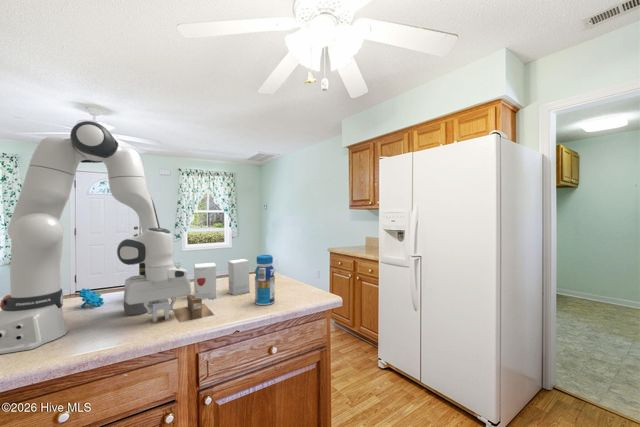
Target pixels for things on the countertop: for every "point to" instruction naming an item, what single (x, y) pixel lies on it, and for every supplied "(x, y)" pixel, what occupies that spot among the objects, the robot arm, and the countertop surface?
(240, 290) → the skincare box
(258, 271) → the beverage bottle
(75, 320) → the countertop surface
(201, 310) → the beige piece
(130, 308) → the smart speaker
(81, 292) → the blue lumpy cluster
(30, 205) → the robot arm
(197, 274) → the supplement box
